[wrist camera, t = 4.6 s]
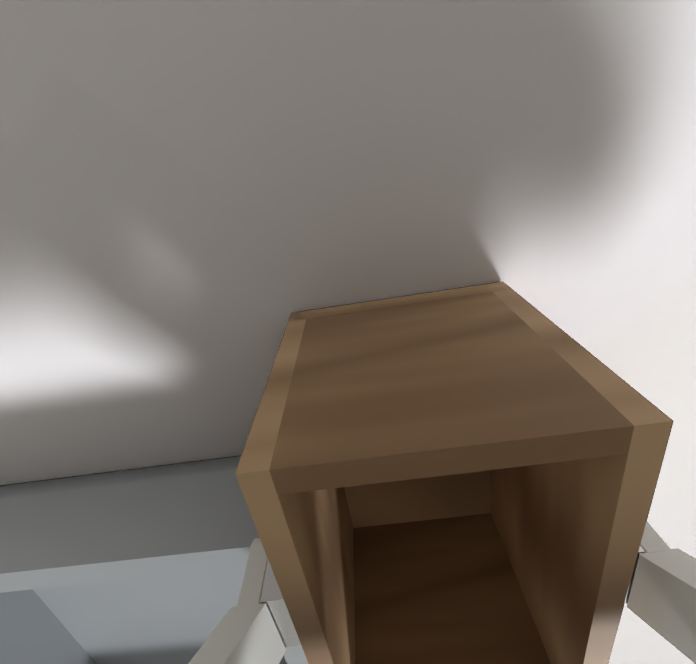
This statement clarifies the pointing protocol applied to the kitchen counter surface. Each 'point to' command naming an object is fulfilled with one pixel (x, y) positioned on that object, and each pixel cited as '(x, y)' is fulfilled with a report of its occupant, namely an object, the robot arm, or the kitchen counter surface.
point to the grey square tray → (122, 564)
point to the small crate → (449, 483)
